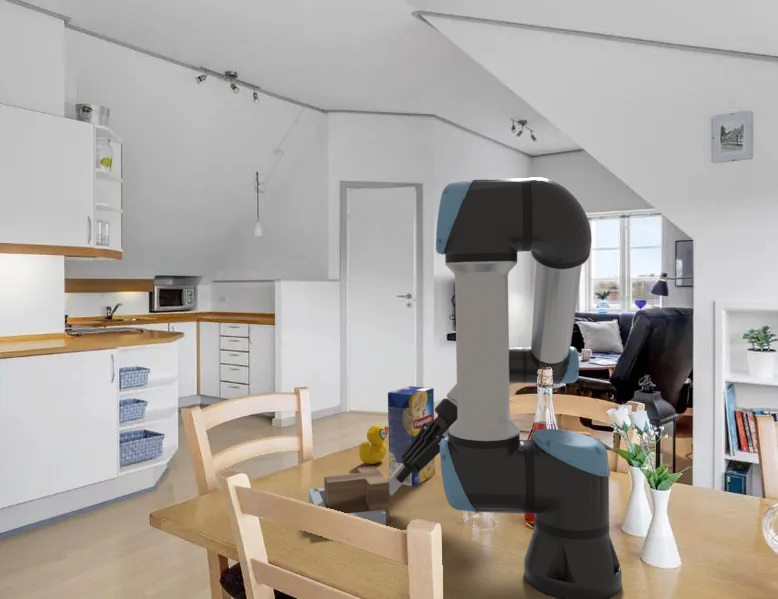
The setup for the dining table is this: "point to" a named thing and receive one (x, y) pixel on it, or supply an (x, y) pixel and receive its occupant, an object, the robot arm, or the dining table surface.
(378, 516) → the fence
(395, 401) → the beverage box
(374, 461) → the duckling
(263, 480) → the dining table surface
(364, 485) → the t block
